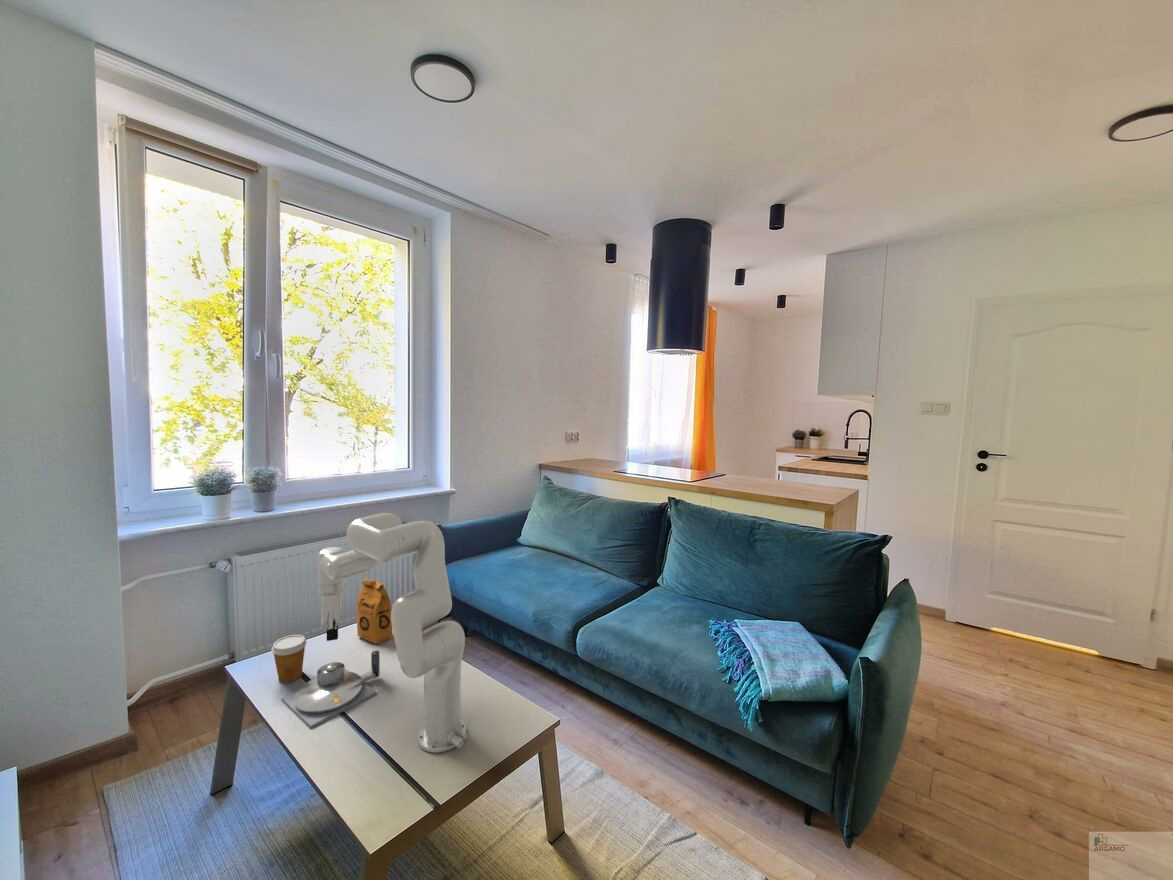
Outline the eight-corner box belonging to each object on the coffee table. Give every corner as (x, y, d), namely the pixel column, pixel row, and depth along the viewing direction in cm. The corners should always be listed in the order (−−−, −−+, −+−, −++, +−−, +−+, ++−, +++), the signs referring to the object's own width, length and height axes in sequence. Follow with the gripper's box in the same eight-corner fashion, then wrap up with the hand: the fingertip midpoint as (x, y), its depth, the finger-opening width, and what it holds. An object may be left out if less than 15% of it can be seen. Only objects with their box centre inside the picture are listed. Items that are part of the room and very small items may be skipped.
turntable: (303, 722, 127) (302, 696, 126) (288, 691, 140) (287, 667, 139) (390, 687, 143) (390, 663, 143) (369, 662, 156) (369, 640, 156)
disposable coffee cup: (314, 669, 153) (313, 635, 152) (293, 687, 144) (292, 650, 143) (287, 667, 154) (286, 632, 153) (265, 684, 145) (263, 648, 144)
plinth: (376, 693, 142) (376, 691, 142) (310, 728, 127) (310, 725, 126) (345, 670, 153) (345, 668, 153) (281, 700, 138) (281, 697, 138)
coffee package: (373, 648, 167) (372, 590, 165) (353, 638, 173) (352, 581, 171) (397, 636, 175) (396, 581, 173) (377, 627, 182) (377, 573, 180)
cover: (349, 678, 145) (349, 665, 144) (324, 690, 139) (324, 676, 138) (337, 669, 149) (337, 656, 149) (312, 680, 143) (312, 667, 143)
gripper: (321, 578, 155) (321, 629, 157) (315, 597, 141) (316, 653, 143) (346, 575, 158) (346, 626, 160) (343, 593, 145) (343, 648, 146)
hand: (332, 638), depth 152 cm, fingers closed
